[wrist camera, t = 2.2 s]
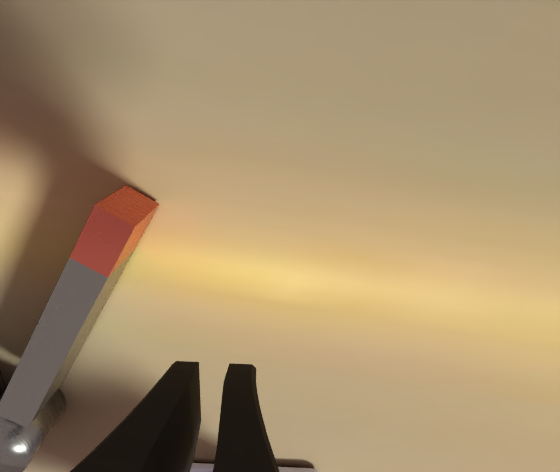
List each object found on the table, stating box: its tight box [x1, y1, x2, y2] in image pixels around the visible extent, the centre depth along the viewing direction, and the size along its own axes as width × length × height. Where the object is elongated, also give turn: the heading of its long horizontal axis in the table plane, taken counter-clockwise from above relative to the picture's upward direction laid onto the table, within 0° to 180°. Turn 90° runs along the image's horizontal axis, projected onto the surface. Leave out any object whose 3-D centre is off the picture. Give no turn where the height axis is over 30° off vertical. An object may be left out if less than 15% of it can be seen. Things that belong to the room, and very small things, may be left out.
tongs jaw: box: [0, 185, 159, 428], centre depth 18 cm, size 12×2×3 cm, turn 148°
